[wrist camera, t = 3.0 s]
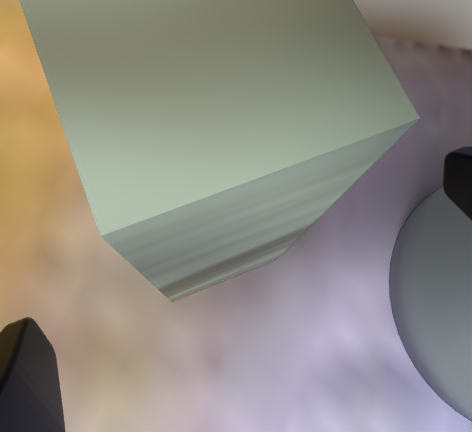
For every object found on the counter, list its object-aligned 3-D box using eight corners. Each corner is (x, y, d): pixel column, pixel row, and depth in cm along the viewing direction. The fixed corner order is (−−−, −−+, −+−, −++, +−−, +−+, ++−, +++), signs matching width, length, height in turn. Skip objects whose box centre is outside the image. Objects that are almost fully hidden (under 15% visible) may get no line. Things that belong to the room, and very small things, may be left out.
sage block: (276, 259, 19) (420, 118, 6) (172, 302, 18) (100, 235, 5) (234, 163, 20) (286, -118, 7) (134, 199, 19) (2, -50, 7)
